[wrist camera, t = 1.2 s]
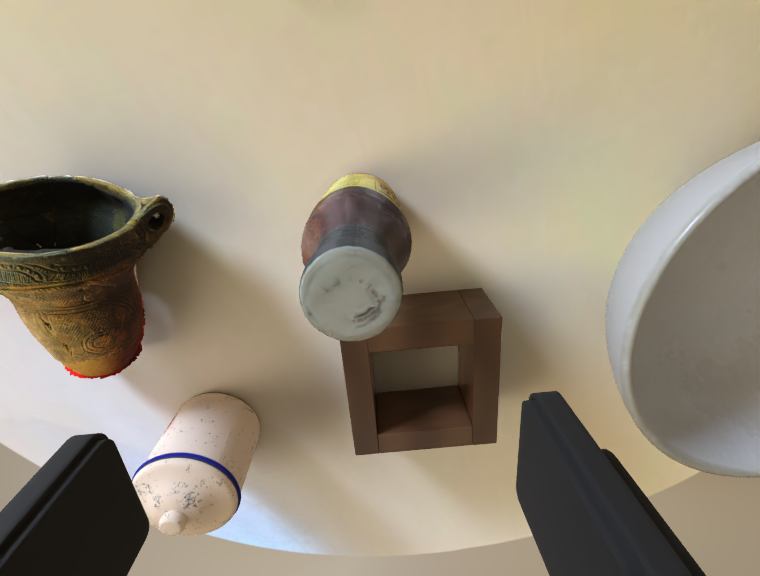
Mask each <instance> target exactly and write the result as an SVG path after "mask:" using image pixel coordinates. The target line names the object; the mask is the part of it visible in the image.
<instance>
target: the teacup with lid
mask: <svg viewBox="0 0 760 576" xmlns="http://www.w3.org/2000/svg"><path fill="white" fill-rule="evenodd" d="M259 435H260V424H259V421H258V418H257V416H256V414H255V413H254V411H253V410H252V409H251V408H250V407H249V406H248V405H247V404H246V403H244V402H243V401H241V400H239V399H237V398H235V397H233V396H230V395H226V394H221V393H207V394H202V395H198V396H195V397H193V398H191V399H190V400H188V401H187V402H185V403H184V404H183V405H182V406H181V408H180V409H179V411H178V412H177V414H176V415H175V417H174V418H173V420H172V422H171V423H170V425H169V426H168V428H167V429H166V431H165V433H164V434H163V436H162V437H161V439H160V440H159V442H158V443H157V445H156V447H155V448H154V450H153V451H152V453H151V454H150V456H149V458H148V459H147V461H146V462H145V463H143V464H142V465H141V466H140V467H139V468H138V469H137V471H136V472H135V474H134V476H133V479H132V483H133V485H134V488H135V490H136V492H137V494H138V497H139V499H140V501H141V503H142V506H143V508H144V510H145V512H146V515H147V517H148V519H149V523H150V524H151V525H153V526H154V527H156V528H158V529H160V531H161V532H162V533H164V534H166V535H170V536H174V535H178V534H179V535H199V534H205V533H209V532H212V531H214V530H216V529H218V528H220V527H222V526H223V525H224V524H226V523H227V522H228V521H229V520H230V519H231V518H232V517H233V515H234V514H235V513H236V511H237V510H238V507H239V505H240V501H241V490H242V487H243V484H244V481H245V478H246V475H247V472H248V469H249V466H250V463H251V460H252V457H253V454H254V451H255V448H256V445H257V442H258V439H259Z"/></svg>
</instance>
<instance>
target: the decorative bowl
mask: <svg viewBox="0 0 760 576" xmlns="http://www.w3.org/2000/svg"><path fill="white" fill-rule="evenodd" d="M606 342H607V350H608V355H609V360H610V365H611V368H612V372H613V375H614V378H615V381H616V384H617V387H618V389H619V392H620V394H621V397H622V399H623V401H624V404H625V406H626V408H627V410H628V412H629V413H630V415H631V417H632V419H633V420H634V422H635V424H636V425H637V427H638V428H639V429H640V431H641V432H642V433H643V435H644V436H645V437H646V438H647V439H648V440H649V441H650V442H651V443H652V444H653V445H654V446H655V447H656V448H657V449H658V450H660V451H661V452H663V453H664V454H665V455H667V456H668V457H670V458H672V459H673V460H675V461H677V462H679V463H681V464H683V465H686V466H688V467H691V468H693V469H696V470H699V471H703V472H707V473H711V474H716V475H722V476H731V477H749V478H750V477H760V141H759V142H757V143H754V144H752V145H750V146H748V147H746V148H744V149H741V150H739V151H737V152H735V153H734V154H732V155H730V156H728V157H726V158H724V159H722V160H721V161H719V162H717V163H715V164H714V165H712V166H710V167H709V168H707V169H706V170H704V171H702V172H701V173H699V174H698V175H696V176H695V177H694V178H692V179H691V180H689V181H688V182H687V183H685V184H684V185H683V186H681V187H680V188H679V189H678V190H676V191H675V192H674V193H673V194H671V195H670V196H669V197H668V198H667V199H666V200H665V201H664V202H663V203H661V204H660V205H659V206H658V208H657V209H656V210H655V211H654V212H653V213H652V214H651V215H650V216H649V217H648V218H647V219H646V221H645V222H644V223H643V224H642V225H641V227H640V228H639V229H638V231H637V232H636V233H635V235H634V236H633V238H632V239H631V241H630V242H629V244H628V246H627V247H626V249H625V251H624V253H623V255H622V257H621V259H620V261H619V263H618V265H617V268H616V270H615V273H614V276H613V279H612V282H611V286H610V290H609V294H608V300H607V306H606Z"/></svg>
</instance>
